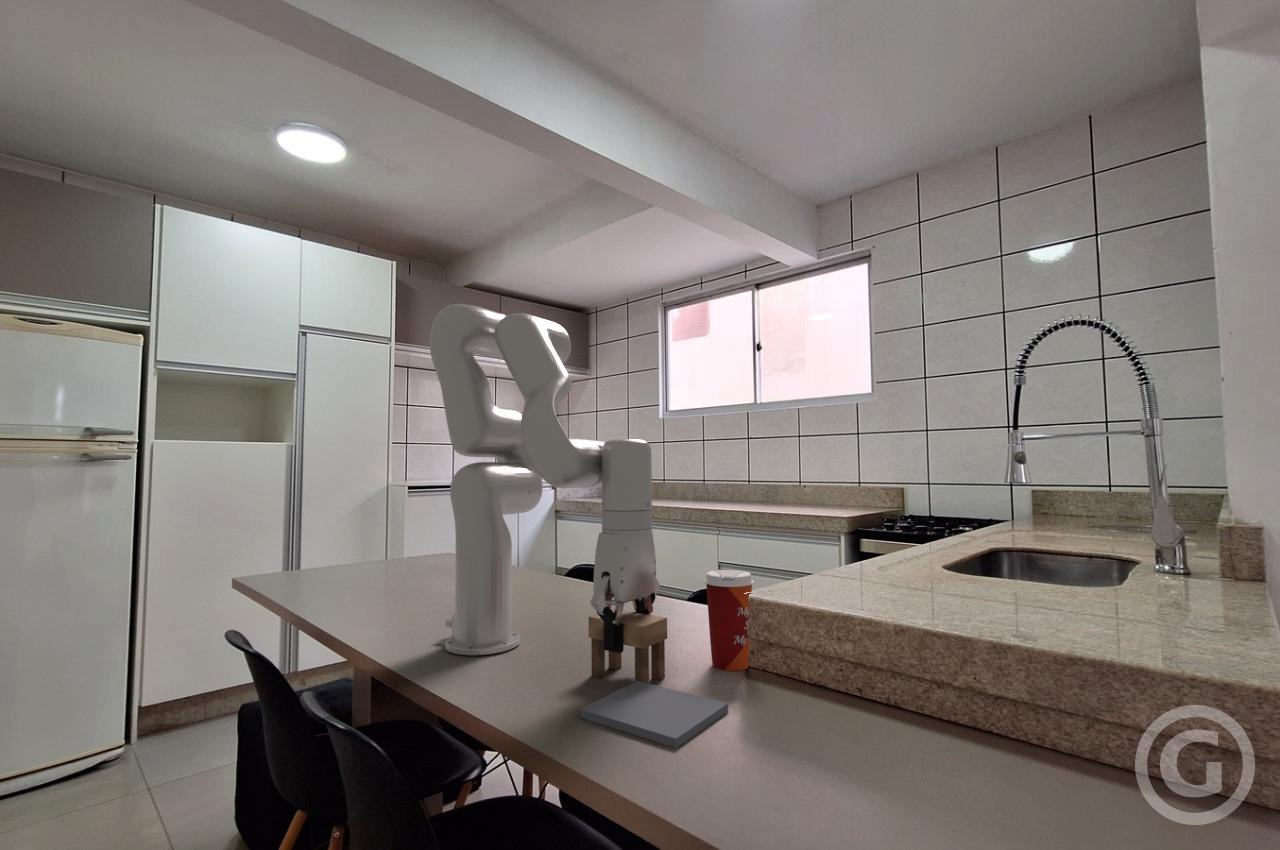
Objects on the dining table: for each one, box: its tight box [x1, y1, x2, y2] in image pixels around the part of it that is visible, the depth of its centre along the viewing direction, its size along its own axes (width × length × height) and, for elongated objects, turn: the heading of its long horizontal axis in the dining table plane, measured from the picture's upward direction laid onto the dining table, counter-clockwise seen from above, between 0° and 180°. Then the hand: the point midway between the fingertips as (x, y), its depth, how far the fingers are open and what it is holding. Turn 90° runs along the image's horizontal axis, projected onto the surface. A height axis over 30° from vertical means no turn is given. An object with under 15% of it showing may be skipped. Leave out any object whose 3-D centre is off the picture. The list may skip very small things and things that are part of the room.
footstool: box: [588, 608, 668, 684], centre depth 88 cm, size 10×6×8 cm, turn 54°
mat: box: [579, 681, 729, 749], centre depth 74 cm, size 14×12×1 cm
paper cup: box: [703, 569, 755, 672], centre depth 93 cm, size 8×8×14 cm
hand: (627, 644), depth 88 cm, fingers closed on footstool, 6 cm apart
